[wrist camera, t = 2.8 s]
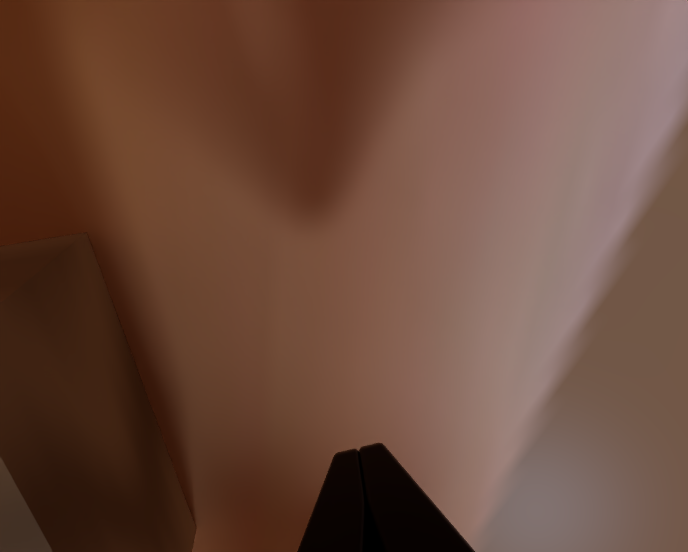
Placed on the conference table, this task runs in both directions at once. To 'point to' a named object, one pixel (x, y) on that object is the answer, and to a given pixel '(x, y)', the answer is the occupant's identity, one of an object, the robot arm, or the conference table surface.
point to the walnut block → (77, 415)
